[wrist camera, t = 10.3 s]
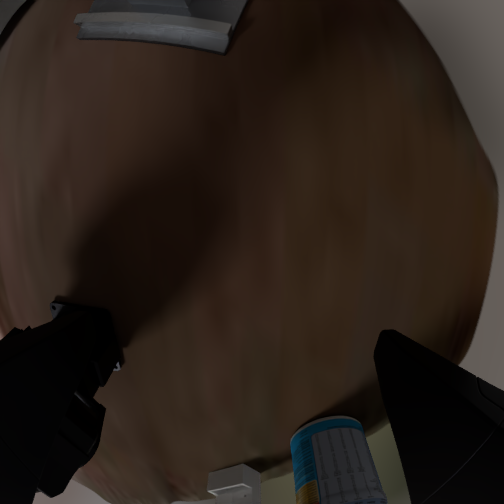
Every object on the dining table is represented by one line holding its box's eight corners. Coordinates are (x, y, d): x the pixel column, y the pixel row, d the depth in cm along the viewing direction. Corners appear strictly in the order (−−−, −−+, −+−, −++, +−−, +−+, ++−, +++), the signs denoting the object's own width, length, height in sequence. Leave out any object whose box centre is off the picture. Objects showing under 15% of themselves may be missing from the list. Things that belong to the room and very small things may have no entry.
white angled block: (290, 479, 27) (261, 536, 20) (235, 466, 33) (208, 512, 27) (273, 470, 26) (241, 530, 19) (218, 456, 32) (189, 504, 26)
